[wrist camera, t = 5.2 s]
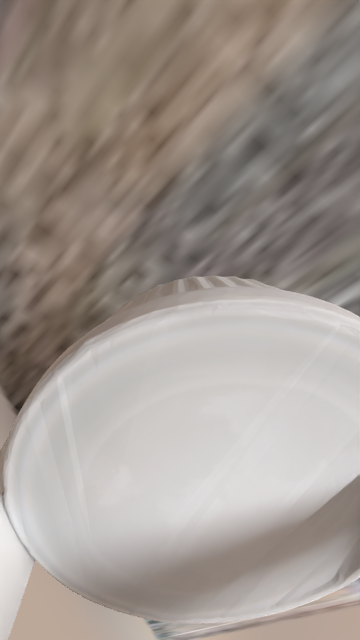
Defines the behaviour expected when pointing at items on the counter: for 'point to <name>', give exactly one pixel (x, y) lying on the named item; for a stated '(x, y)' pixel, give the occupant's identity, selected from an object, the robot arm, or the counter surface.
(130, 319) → the ramekin
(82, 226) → the counter surface
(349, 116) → the counter surface
